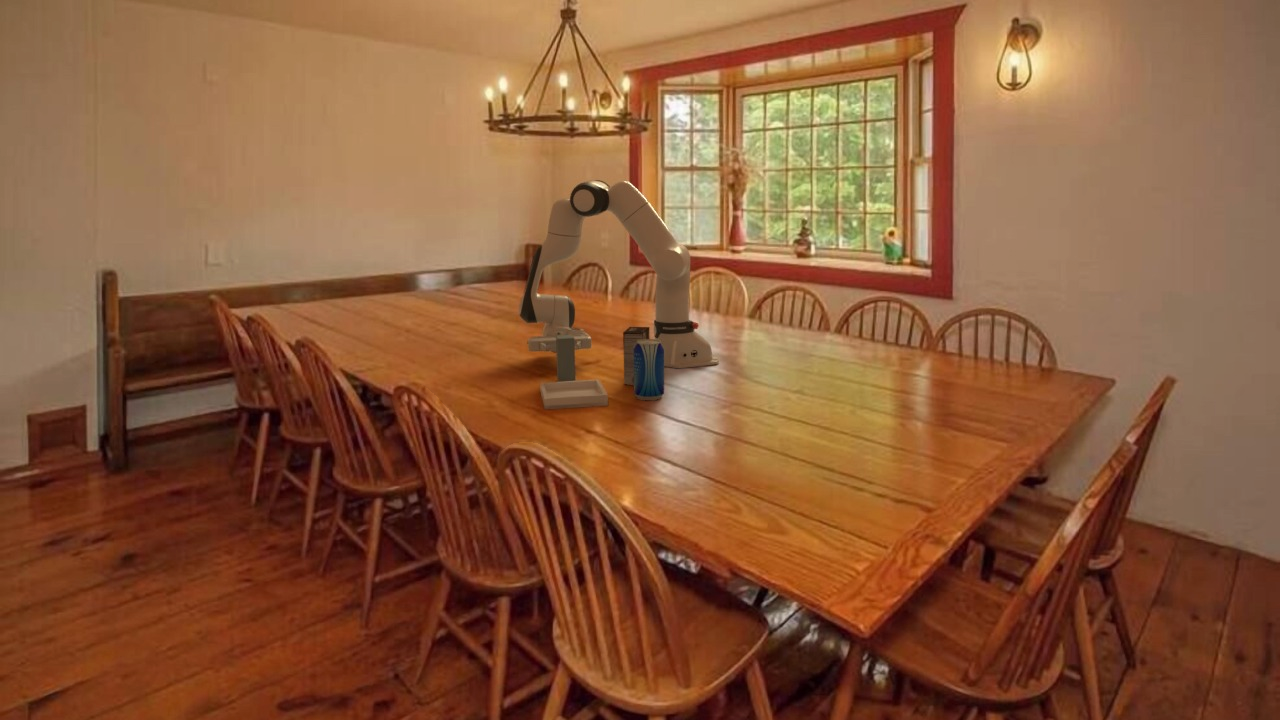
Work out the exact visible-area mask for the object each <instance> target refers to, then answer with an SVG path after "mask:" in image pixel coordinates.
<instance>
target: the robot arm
mask: <svg viewBox="0 0 1280 720" xmlns="http://www.w3.org/2000/svg"><path fill="white" fill-rule="evenodd" d="M606 211H608V212H611V213H612V214H614V215H615V217H616V218H617V219H618V221H619V222H620V224H621V225H622V226H623V227H624V229H625V230H626V232H627V233H628V234H629V235H630V237H631V238H632V239H633V240H634V241H635V243H636V245H637V247H639V249H640V251H641V254H643V256H644V257H645V259H646V260H647V262H648V263H649V265H650V267H651V268H652V269H653V271H654V272H655V273H656V283H655V298H654V304H655V306H654V307H655V308H654V309H655V311H654V312H655V313H654V315H655V316H654V317H655V319H654V320H653V337H654V339H655V340H660V341H661V345H662V347H663V348H664V367H669V368H673V369H685V368H686V369H687V368H695V367H703V366H704V367H705V366H712V365H713V366H714V365H718V364H719V362H720V359H719V357H717V355H714V354H713V351H712V350H713V349H712V345H711V344H710V342H709V341H708V340H707V339H705V338H704V337H703V336H701V334H699V333H698V332H697V331H695V330H698V329H699V327H700V324H699V323H698V322H696V321H692V320H691V319H690V283H691V282H690V281H691V254H690V252H689V249H688V248H687V246H684V245H683V244H682V243H679V242H677V241H676V239H675V237H674V236H673V234H672V233H671V231H670V229H669V228H668V227H667V224H665V222H664V220H663V219H662V217H661V216H660V215H659V214H658V212H657V211H656V210H655V208H654V207H653V206H652V205H651V203H650V202H649V201H648V199H647V198H646V197H645V196H644V195H643V194H642V192H640V190H639V189H638V188H637V187H636V186H635V185H633V183H631V182H630V181H627V180H621V181H619V182H616V183H615V184H613V185H612V186H610V185H609V184H608V183H607V182H605V181H604V180H603V181H602V180H598V179H596V180H595V179H594V180H586V181H584V182H580V183H579V184H577V185H576V186H575V187H573V189H572V191H571V193H570V198H561V199H557V200H556V201H555V202H554V203H553V204H552V207H551V211H550V214H549V219H548V227H547V235H546V238H545V239H544V242H543V243H542V245H539V246H538V247H537V248H536V249H535V252H534V255H533V258H532V260H531V265H530V267H529V271H528V276H527V280H526V283H525V288H524V290H523V294H522V297H521V299H520V300H519V301H520V302H519V306H518V314H519V317H520V318H521V319H522V320H523V321H524V322H526V324H535V323H536V324H538V323H541V324H544V326H543V327H542V335H540V336H538V335H537V336H531V337H529V338H528V339H527V340H526V344H527V345H528V351H529V352H552V353H553V354H556V336H557V335H573V337H574V346H575V351H576V350H577V351H578V350H589V349H591V348H592V337H591V336H590V334H588V333H587V332H585V330H584V328H578V327H577V328H574V327H573V326H574V323H575V321H576V320H575V318H576V317H575V316H576V308H575V304H574V302H573V300H572V299H571V298H570V297H569V296H568V295H561V294H545V293H543V294H542V293H538V288H539V286H540V280H541V278H542V275H543V273H544V272H543V271H544V270H546V268H548V267H549V266H551V265H554V264H558V263H560V262H564V261H567V260H569V259H570V258H572V257H574V256H575V255H576V254H577V253H578V251H580V250H579V249H580V246H581V241H582V229H583V223H584V220H585V218H587V217H593V216H598V215H601V214H603V213H604V212H606Z"/></svg>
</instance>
